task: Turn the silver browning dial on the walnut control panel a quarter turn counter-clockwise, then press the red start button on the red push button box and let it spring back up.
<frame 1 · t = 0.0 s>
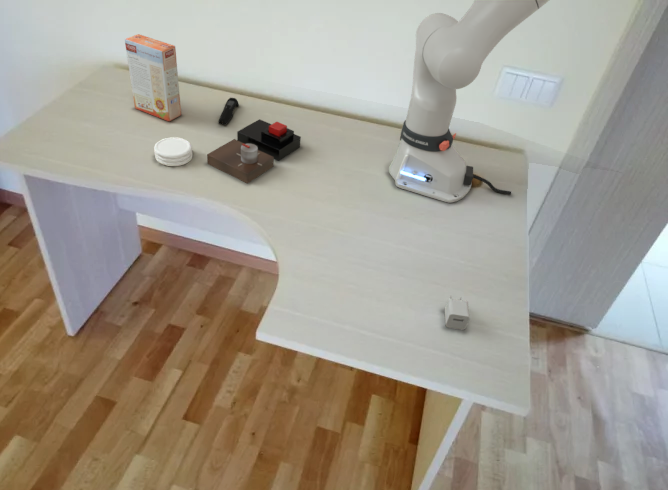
electric trimmer: (228, 116, 165), on the table
usb wall charger: (453, 316, 109), on the table
dial: (249, 153, 140), point 5 cm above the table, hinge at 0.0°
cracker box: (158, 112, 163), on the table
red push button box: (268, 145, 153), on the table
dial panel: (240, 165, 145), on the table
coaster: (174, 157, 146), on the table
start button: (277, 129, 148), point 6 cm above the table, slide at 0.1 cm
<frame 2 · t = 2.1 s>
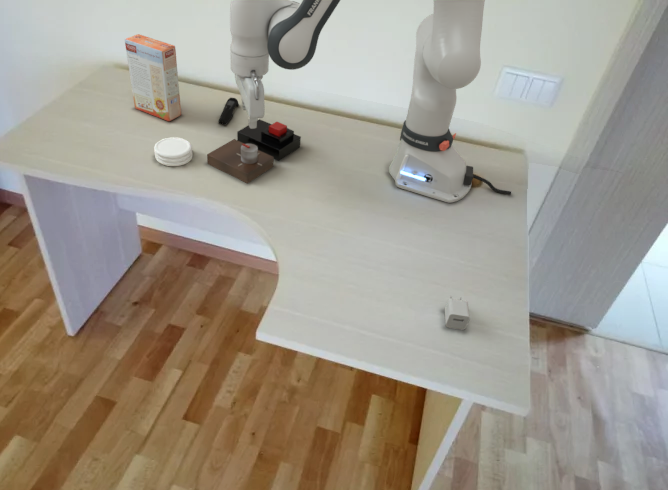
hand: (249, 117, 133), 15 cm above the table, tool pointing down, fingers open, 8 cm apart
nothing on the table moved.
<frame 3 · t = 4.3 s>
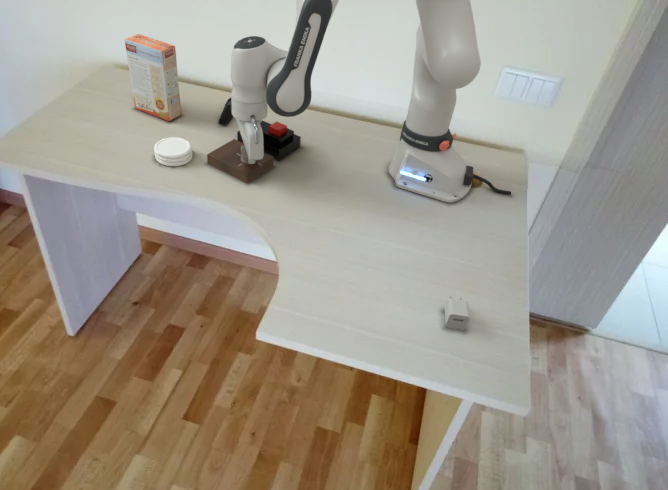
hand: (249, 156, 141), 4 cm above the table, tool pointing down, fingers closed on dial, 4 cm apart
dial: (249, 153, 140), point 5 cm above the table, hinge at 0.0°, touching gripper
everything else where it was.
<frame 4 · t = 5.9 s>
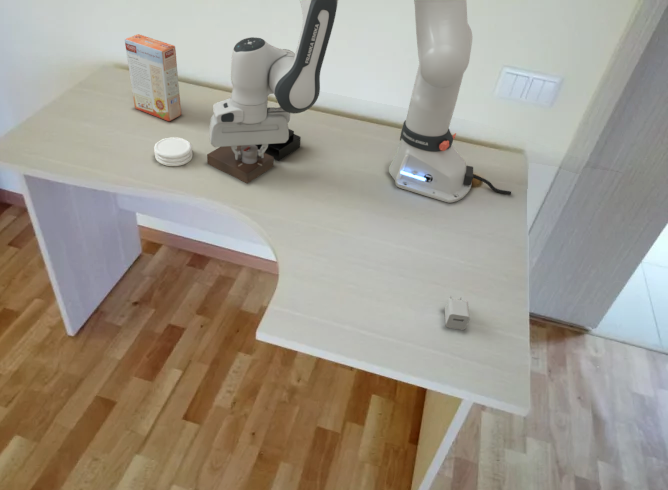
hand: (249, 157, 141), 4 cm above the table, tool pointing down, fingers closed on dial, 4 cm apart
dial: (249, 153, 140), point 5 cm above the table, hinge at 93.8°, touching gripper
everything else where it was.
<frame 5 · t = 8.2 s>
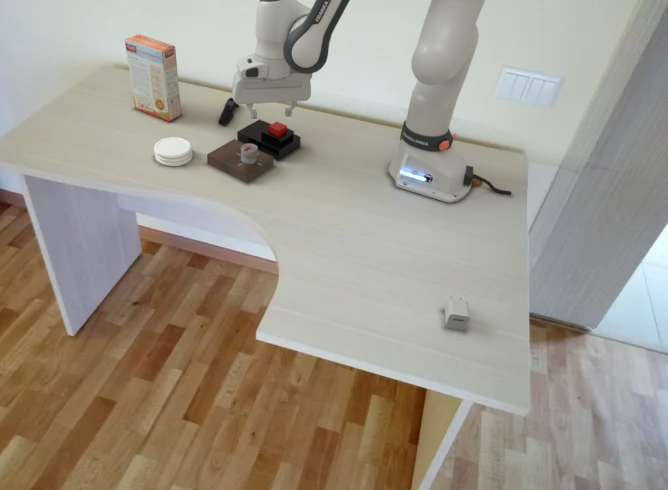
hand: (271, 116, 142), 11 cm above the table, tool pointing down, fingers open, 8 cm apart
dial: (249, 153, 140), point 5 cm above the table, hinge at 93.8°
everything else where it was.
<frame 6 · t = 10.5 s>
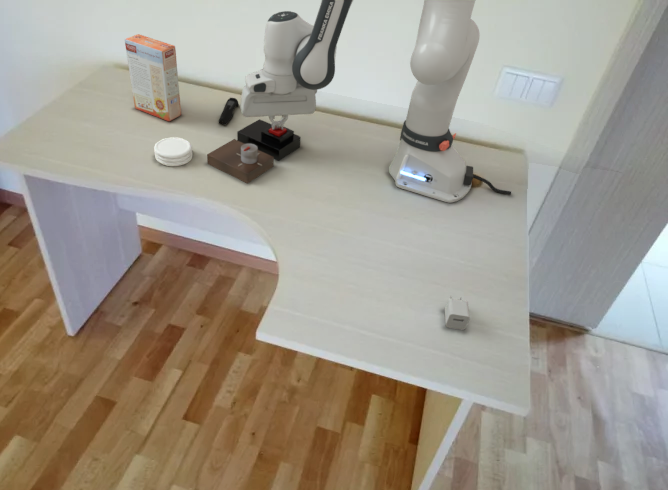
hand: (277, 128, 148), 6 cm above the table, tool pointing down, fingers closed, pressing on start button
start button: (277, 132, 149), point 5 cm above the table, slide at -0.9 cm, touching gripper
everything else where it was.
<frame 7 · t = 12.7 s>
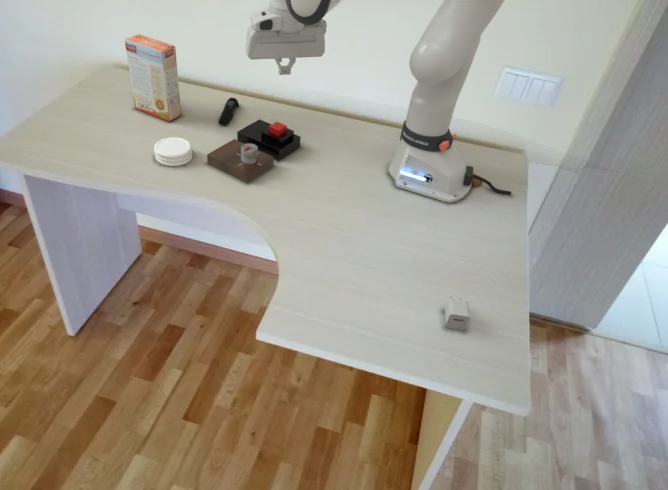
hand: (284, 73, 141), 20 cm above the table, tool pointing down, fingers closed
start button: (277, 129, 148), point 6 cm above the table, slide at 0.1 cm
everything else where it was.
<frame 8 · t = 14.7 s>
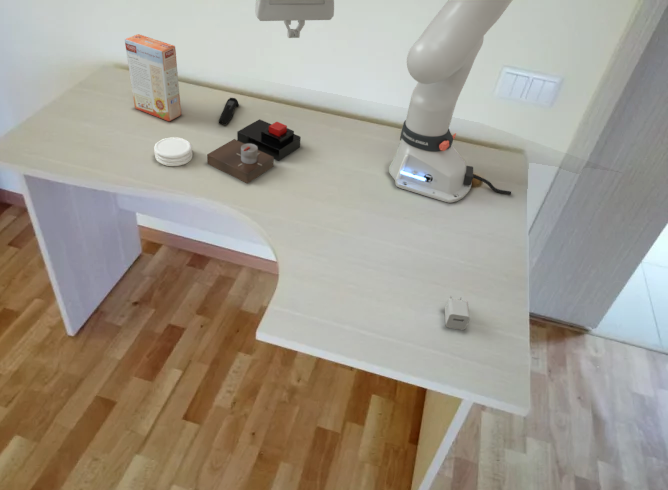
hand: (293, 37, 141), 27 cm above the table, tool pointing down, fingers closed
nothing on the table moved.
at the end: dial at +94° (first picture: +0°); start button pushed in 1.3 cm at the most during the clip, back to where it started at the end; start button slide at 0.1 cm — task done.
